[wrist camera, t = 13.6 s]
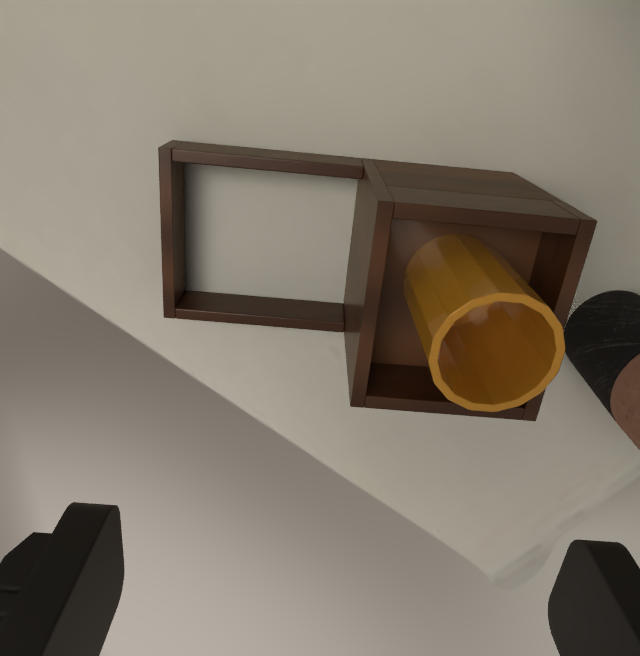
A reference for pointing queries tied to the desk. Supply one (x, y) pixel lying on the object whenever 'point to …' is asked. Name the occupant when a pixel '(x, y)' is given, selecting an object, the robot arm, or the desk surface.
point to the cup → (480, 325)
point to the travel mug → (609, 354)
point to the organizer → (387, 260)
